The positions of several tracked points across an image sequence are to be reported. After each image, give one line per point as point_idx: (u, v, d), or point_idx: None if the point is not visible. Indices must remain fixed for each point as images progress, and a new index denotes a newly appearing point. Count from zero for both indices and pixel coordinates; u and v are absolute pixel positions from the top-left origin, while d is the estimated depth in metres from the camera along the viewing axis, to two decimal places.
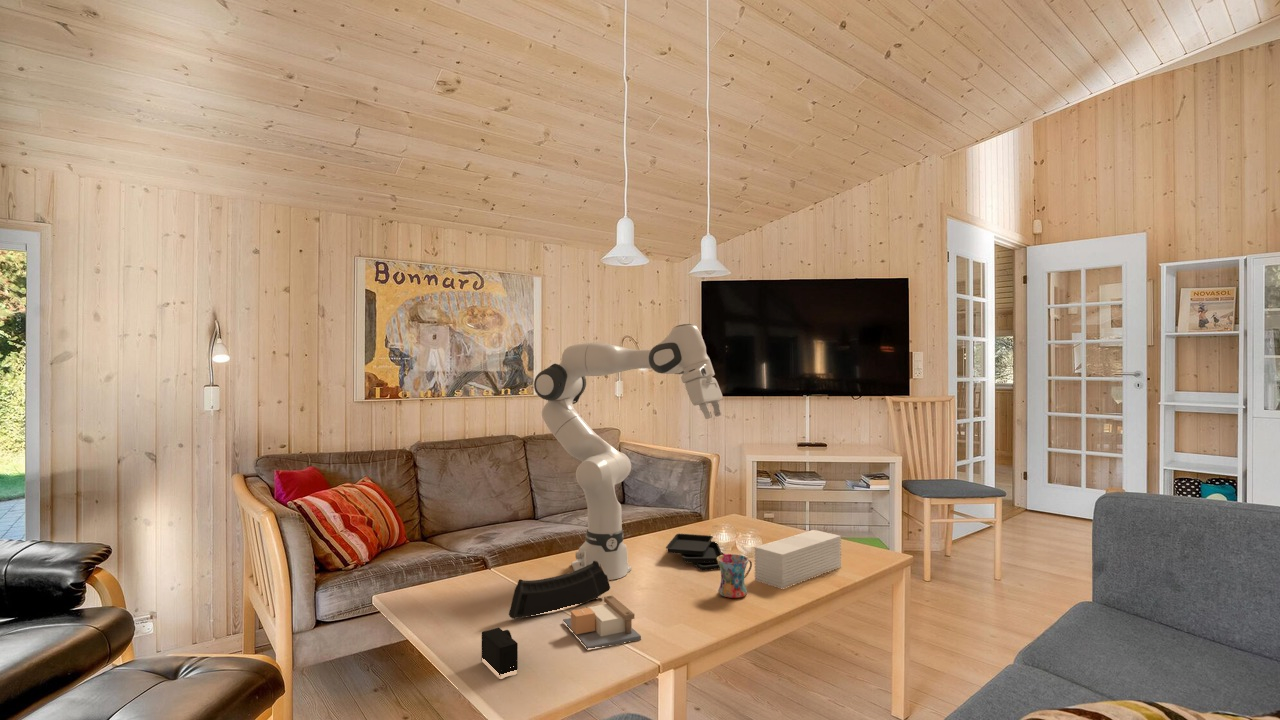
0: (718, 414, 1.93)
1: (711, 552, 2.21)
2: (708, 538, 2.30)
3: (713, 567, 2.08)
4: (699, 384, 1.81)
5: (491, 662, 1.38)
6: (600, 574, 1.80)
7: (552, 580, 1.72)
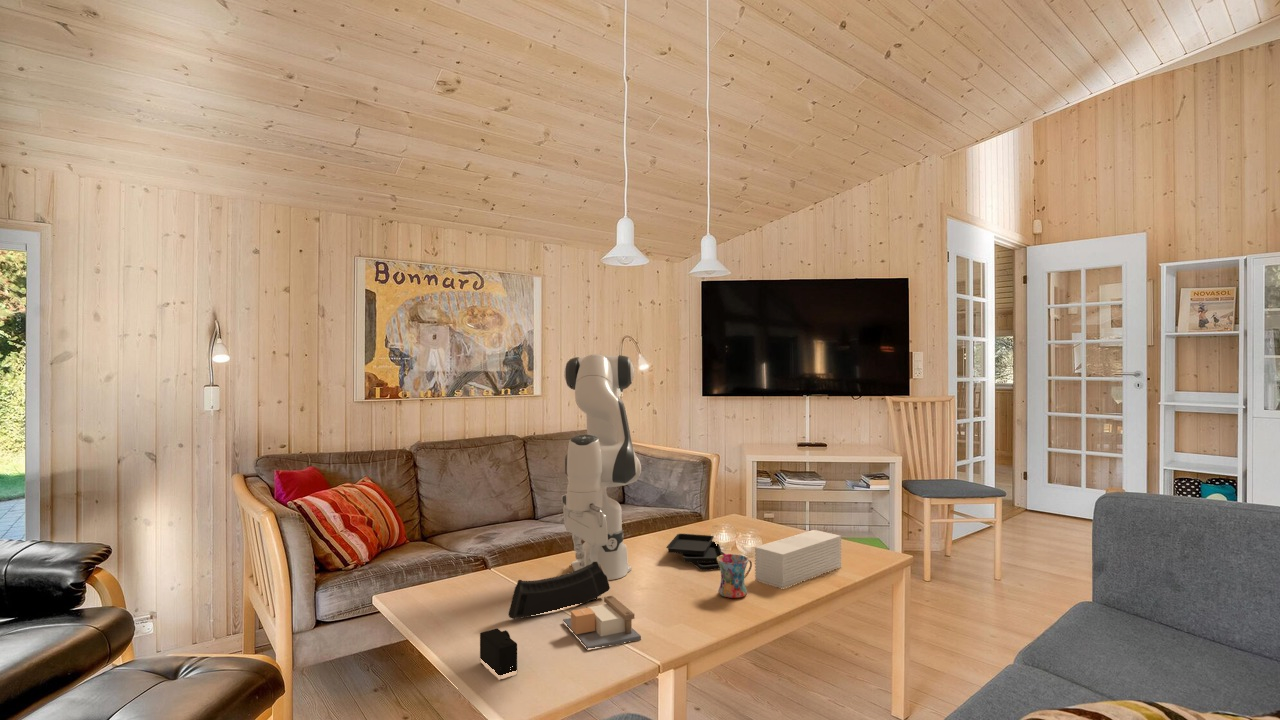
0: None
1: (712, 552, 2.21)
2: (709, 538, 2.30)
3: (713, 567, 2.08)
4: None
5: (490, 663, 1.38)
6: (600, 574, 1.80)
7: (552, 580, 1.72)
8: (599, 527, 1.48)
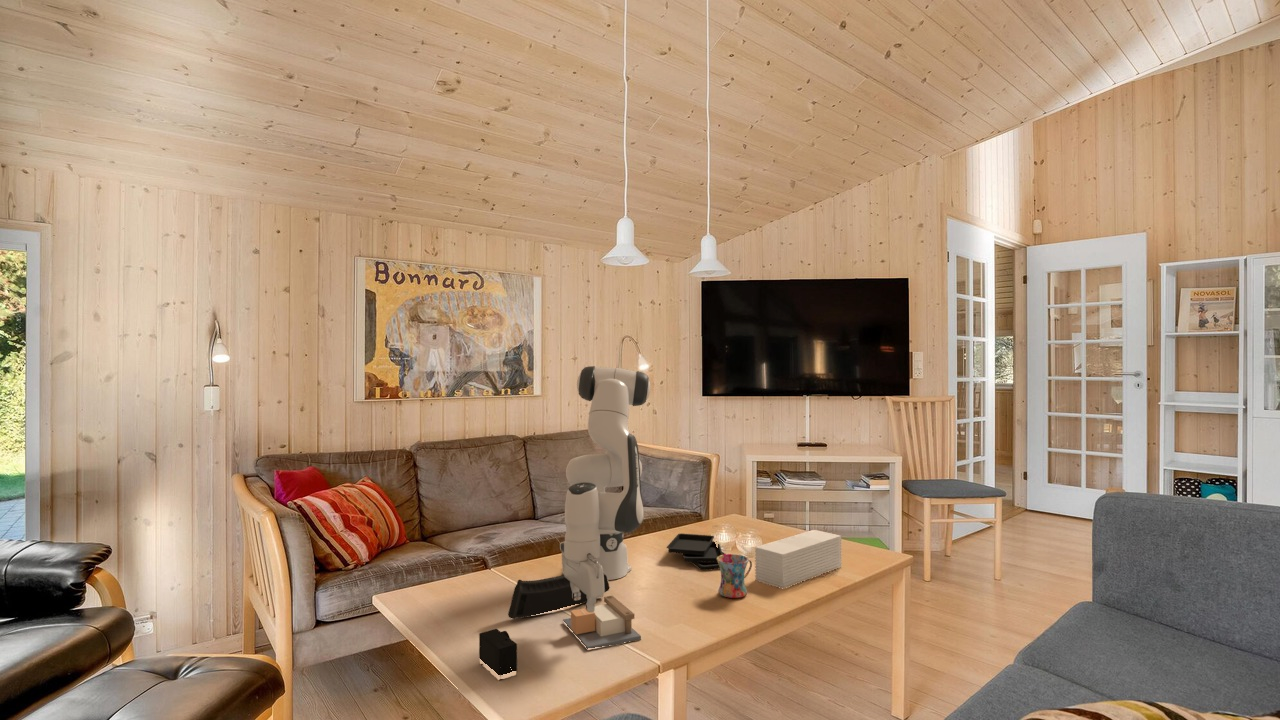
0: None
1: (713, 552, 2.21)
2: (710, 538, 2.30)
3: (713, 567, 2.08)
4: None
5: (490, 663, 1.37)
6: None
7: (551, 580, 1.72)
8: (596, 579, 1.48)
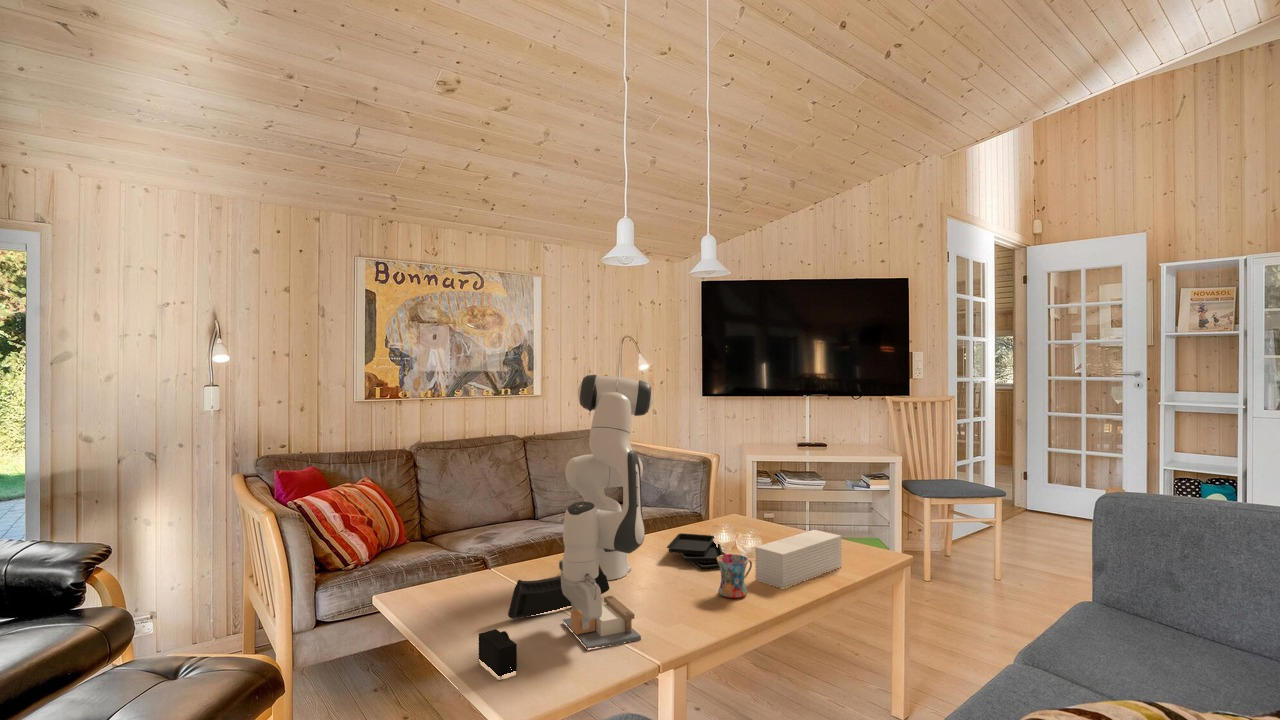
0: None
1: (713, 552, 2.21)
2: (710, 538, 2.30)
3: (714, 567, 2.08)
4: None
5: (489, 664, 1.37)
6: (599, 574, 1.80)
7: (551, 580, 1.72)
8: (593, 600, 1.48)
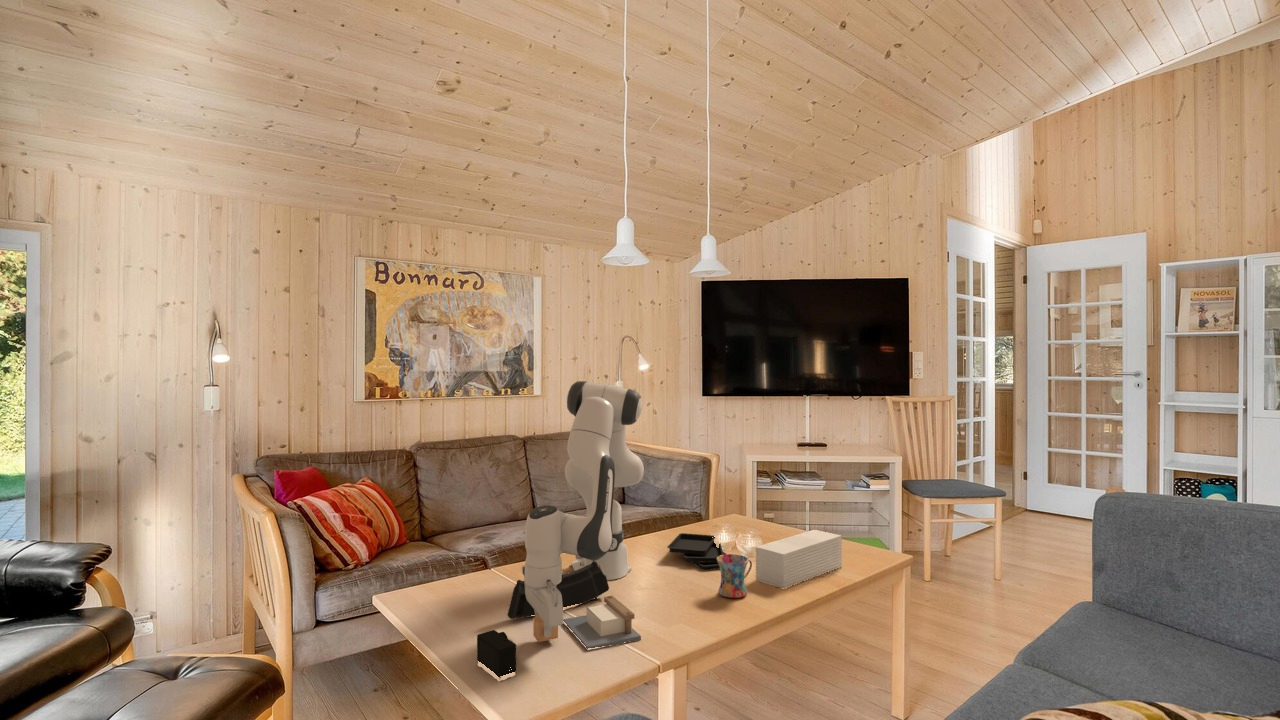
0: None
1: (714, 552, 2.21)
2: (711, 538, 2.30)
3: (714, 567, 2.08)
4: None
5: (489, 665, 1.37)
6: (599, 574, 1.80)
7: None
8: (554, 607, 1.44)
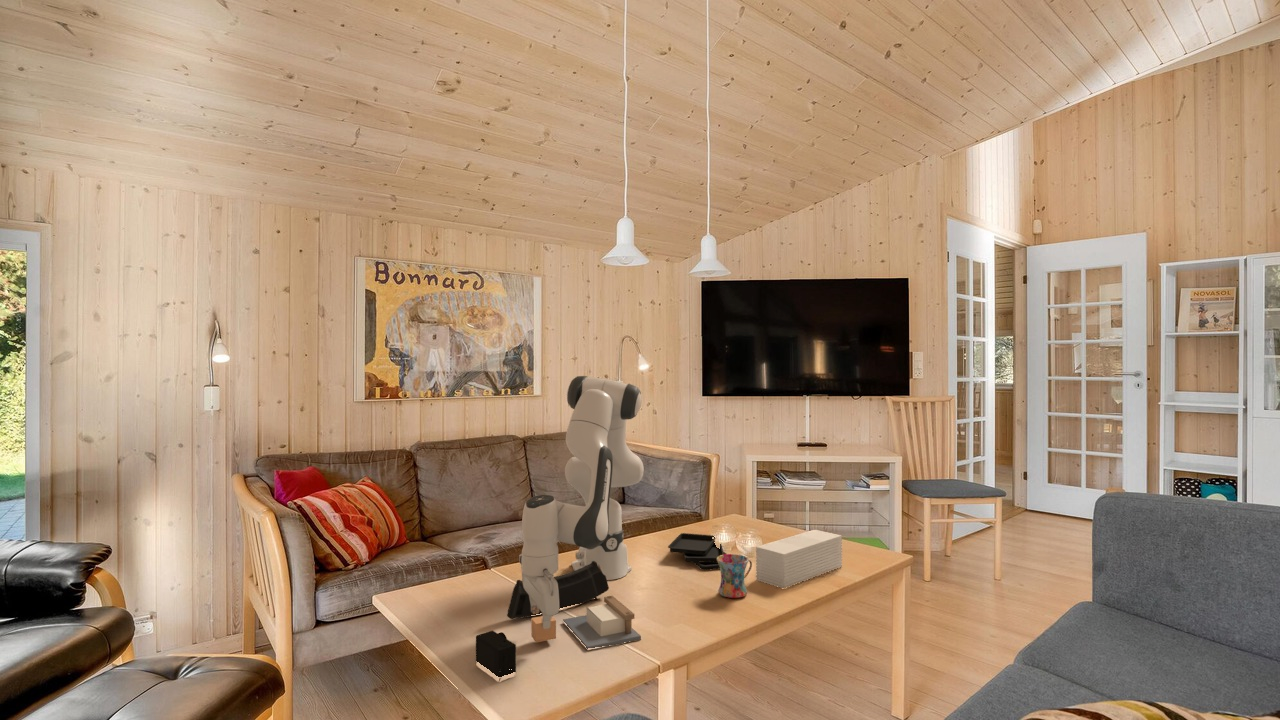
0: None
1: (714, 552, 2.21)
2: None
3: (714, 567, 2.08)
4: None
5: (488, 665, 1.36)
6: (599, 574, 1.80)
7: None
8: (550, 596, 1.44)
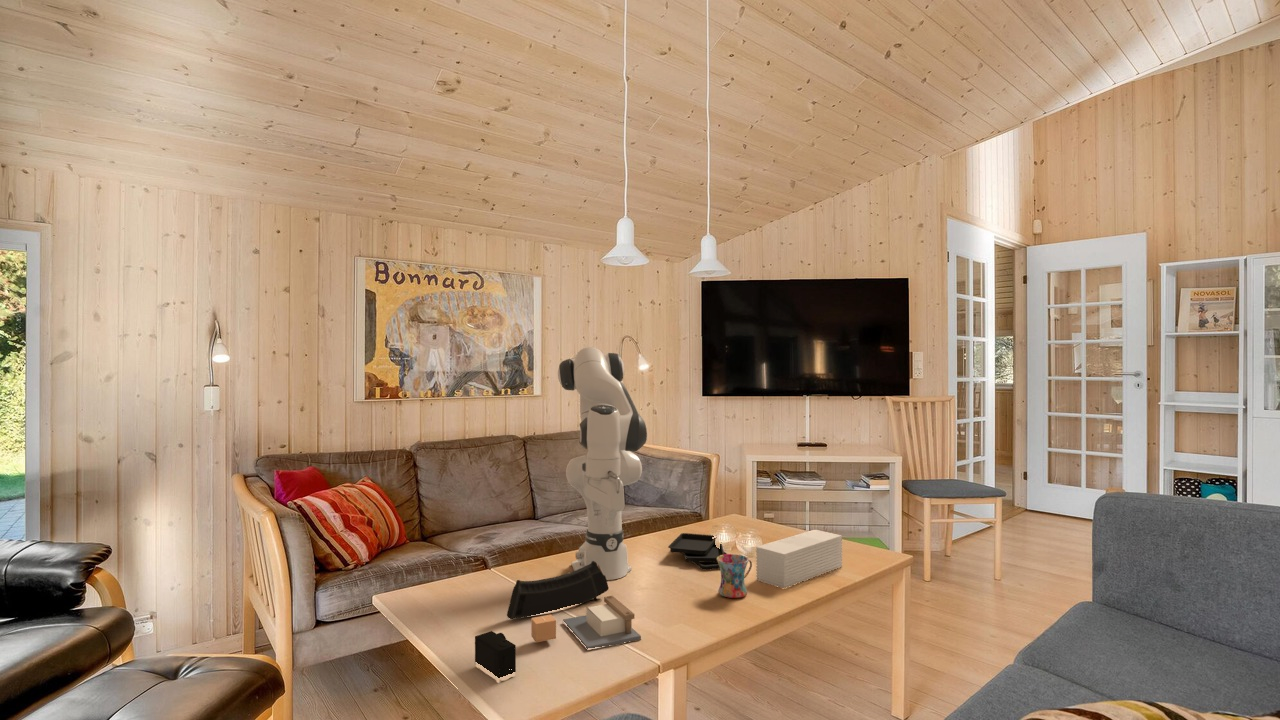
0: None
1: (715, 552, 2.21)
2: None
3: (714, 567, 2.08)
4: None
5: (488, 666, 1.36)
6: (598, 574, 1.80)
7: (550, 580, 1.71)
8: (616, 493, 1.54)
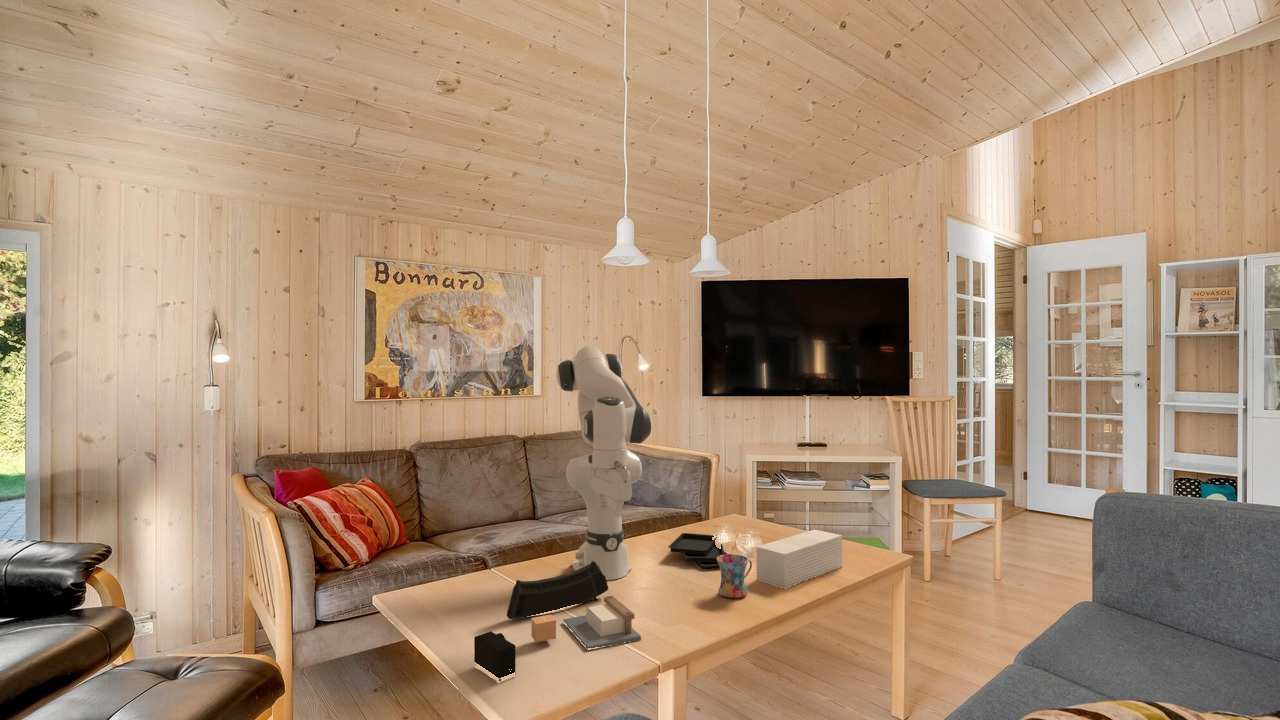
0: None
1: (715, 552, 2.21)
2: None
3: (714, 567, 2.08)
4: None
5: (487, 666, 1.36)
6: (598, 574, 1.80)
7: (550, 581, 1.71)
8: (624, 483, 1.55)
